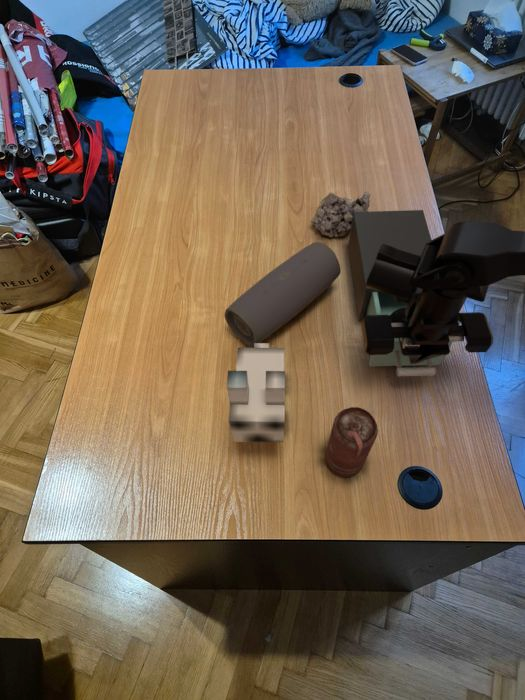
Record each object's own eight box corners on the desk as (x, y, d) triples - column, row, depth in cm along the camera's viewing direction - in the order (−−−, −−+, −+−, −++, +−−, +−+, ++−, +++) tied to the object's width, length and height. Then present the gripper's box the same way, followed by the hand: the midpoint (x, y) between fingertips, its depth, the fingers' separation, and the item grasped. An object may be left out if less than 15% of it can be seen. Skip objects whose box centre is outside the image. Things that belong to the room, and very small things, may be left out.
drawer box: (429, 319, 90) (444, 286, 81) (358, 320, 90) (366, 288, 82) (411, 245, 100) (423, 209, 92) (347, 246, 100) (353, 211, 92)
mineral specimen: (373, 196, 103) (358, 174, 95) (377, 235, 101) (362, 216, 93) (322, 212, 109) (303, 193, 101) (325, 249, 107) (306, 233, 99)
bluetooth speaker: (305, 266, 98) (308, 230, 89) (339, 290, 94) (345, 255, 85) (224, 330, 90) (219, 297, 81) (258, 359, 86) (256, 328, 77)
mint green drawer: (445, 388, 81) (460, 365, 74) (373, 389, 81) (381, 367, 74) (420, 284, 93) (430, 257, 86) (357, 286, 93) (363, 259, 87)
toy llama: (283, 365, 85) (284, 296, 68) (283, 459, 76) (284, 405, 59) (242, 365, 85) (233, 296, 68) (237, 458, 76) (225, 405, 59)
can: (333, 484, 73) (343, 453, 61) (319, 447, 76) (327, 410, 65) (369, 474, 74) (387, 441, 62) (354, 437, 77) (368, 399, 65)
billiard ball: (393, 352, 83) (400, 333, 78) (378, 326, 87) (385, 306, 82) (423, 343, 84) (433, 323, 79) (408, 317, 87) (416, 297, 82)
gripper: (490, 259, 70) (456, 320, 83) (365, 262, 70) (351, 323, 83) (513, 319, 64) (472, 375, 77) (375, 323, 64) (358, 378, 77)
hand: (412, 361), depth 79 cm, fingers closed
